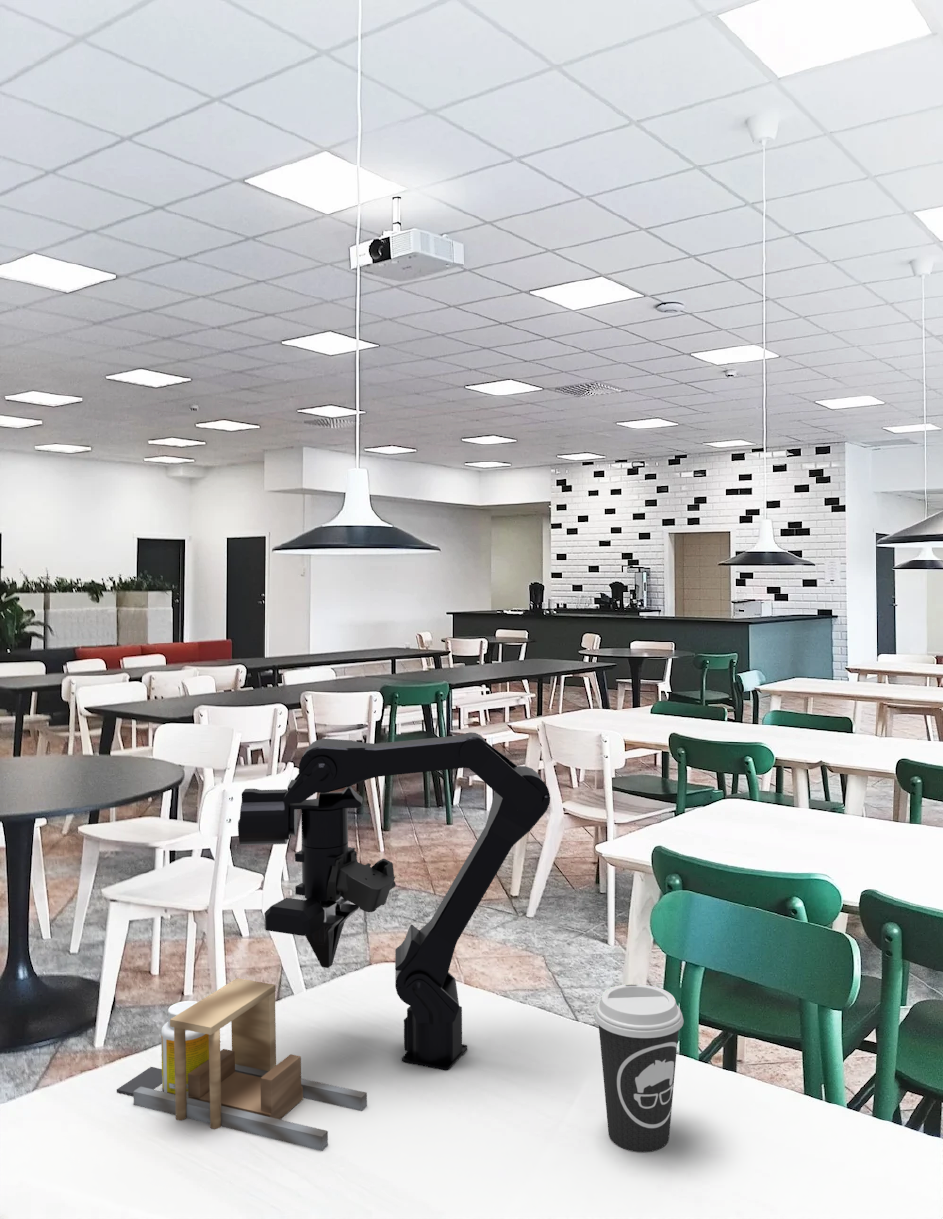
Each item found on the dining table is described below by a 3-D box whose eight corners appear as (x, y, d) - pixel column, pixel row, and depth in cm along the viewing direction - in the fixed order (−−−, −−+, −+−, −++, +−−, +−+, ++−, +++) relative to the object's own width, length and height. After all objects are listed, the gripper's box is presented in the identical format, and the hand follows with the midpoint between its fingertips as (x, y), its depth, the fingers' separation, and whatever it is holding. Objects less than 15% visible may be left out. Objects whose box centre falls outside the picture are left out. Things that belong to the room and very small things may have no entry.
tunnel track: (372, 1102, 118) (371, 1001, 117) (315, 1159, 106) (313, 1048, 106) (195, 1063, 127) (193, 970, 127) (125, 1112, 116) (123, 1009, 116)
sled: (302, 1099, 118) (302, 1055, 118) (270, 1128, 112) (269, 1081, 112) (224, 1081, 122) (223, 1038, 122) (188, 1108, 116) (187, 1063, 116)
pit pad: (177, 1074, 125) (177, 1072, 125) (143, 1098, 119) (143, 1095, 119) (151, 1068, 126) (151, 1066, 126) (116, 1091, 121) (116, 1089, 121)
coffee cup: (689, 1120, 113) (688, 986, 113) (677, 1167, 104) (677, 1023, 104) (604, 1105, 117) (603, 976, 116) (585, 1151, 108) (584, 1010, 107)
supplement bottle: (219, 1094, 120) (217, 1008, 120) (173, 1110, 116) (172, 1021, 116) (199, 1076, 124) (197, 993, 124) (154, 1091, 121) (153, 1006, 120)
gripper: (344, 869, 115) (346, 1006, 116) (416, 830, 132) (417, 949, 133) (260, 860, 119) (262, 991, 120) (340, 823, 137) (342, 938, 137)
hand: (326, 966), depth 127 cm, fingers closed
